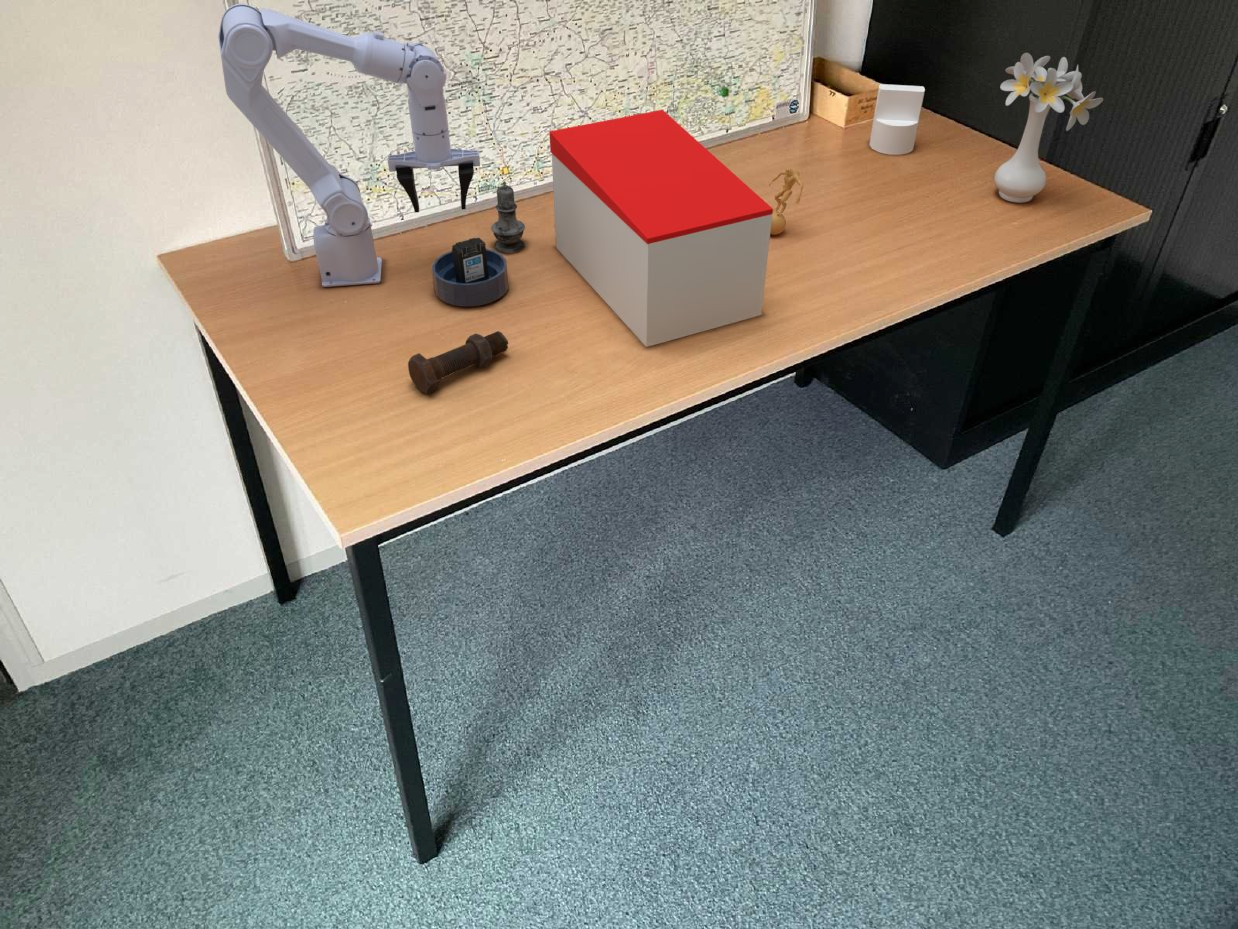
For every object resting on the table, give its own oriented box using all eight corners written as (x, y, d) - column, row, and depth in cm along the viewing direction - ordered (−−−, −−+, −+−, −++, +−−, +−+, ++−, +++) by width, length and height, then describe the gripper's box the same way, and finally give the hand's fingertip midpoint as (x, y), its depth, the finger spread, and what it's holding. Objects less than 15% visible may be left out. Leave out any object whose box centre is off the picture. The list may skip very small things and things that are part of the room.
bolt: (507, 363, 152) (422, 400, 145) (489, 337, 153) (404, 372, 145) (517, 343, 147) (430, 380, 140) (499, 316, 148) (411, 351, 141)
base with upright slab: (869, 153, 206) (879, 94, 198) (868, 135, 212) (878, 78, 205) (914, 156, 205) (926, 97, 197) (912, 138, 211) (923, 80, 203)
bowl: (435, 311, 160) (432, 287, 157) (435, 273, 169) (431, 249, 166) (510, 305, 162) (508, 281, 159) (506, 268, 171) (504, 244, 168)
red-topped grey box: (658, 222, 183) (661, 108, 170) (761, 314, 159) (774, 191, 146) (554, 246, 176) (548, 130, 163) (645, 347, 152) (647, 221, 139)
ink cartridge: (462, 294, 163) (457, 250, 158) (456, 288, 165) (451, 244, 160) (489, 285, 165) (485, 241, 160) (483, 279, 167) (478, 235, 162)
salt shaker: (521, 255, 174) (516, 190, 166) (488, 251, 175) (482, 187, 167) (530, 239, 178) (525, 175, 171) (498, 236, 179) (492, 172, 171)
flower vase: (1044, 224, 182) (1085, 86, 166) (958, 190, 193) (989, 56, 176) (1082, 203, 189) (1126, 67, 172) (997, 170, 199) (1030, 40, 183)
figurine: (750, 226, 182) (756, 163, 174) (777, 218, 184) (784, 155, 176) (778, 245, 176) (785, 181, 169) (805, 237, 179) (814, 173, 171)
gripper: (382, 141, 154) (395, 222, 163) (477, 135, 156) (485, 216, 165) (384, 123, 160) (396, 202, 169) (475, 118, 161) (483, 196, 170)
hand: (440, 208), depth 167 cm, fingers open, 7 cm apart
